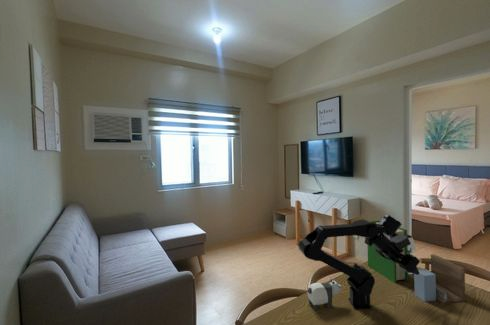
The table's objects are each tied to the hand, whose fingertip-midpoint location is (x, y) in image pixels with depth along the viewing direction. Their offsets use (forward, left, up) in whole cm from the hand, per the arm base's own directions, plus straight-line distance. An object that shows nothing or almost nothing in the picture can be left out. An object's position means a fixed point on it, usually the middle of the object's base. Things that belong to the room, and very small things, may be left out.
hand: (409, 268), depth 100 cm
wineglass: (+12, +23, -13) cm, 29 cm away
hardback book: (+2, +22, -13) cm, 26 cm away
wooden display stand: (+15, +5, -13) cm, 20 cm away
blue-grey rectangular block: (+7, +1, -13) cm, 14 cm away
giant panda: (-36, -3, -13) cm, 38 cm away
